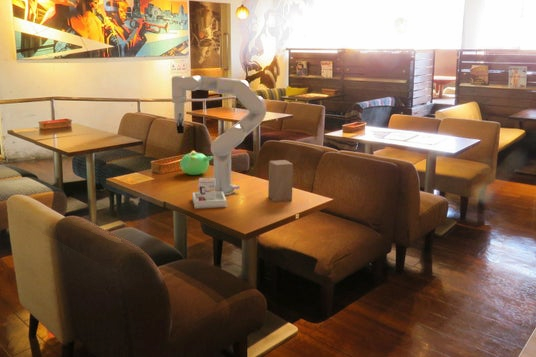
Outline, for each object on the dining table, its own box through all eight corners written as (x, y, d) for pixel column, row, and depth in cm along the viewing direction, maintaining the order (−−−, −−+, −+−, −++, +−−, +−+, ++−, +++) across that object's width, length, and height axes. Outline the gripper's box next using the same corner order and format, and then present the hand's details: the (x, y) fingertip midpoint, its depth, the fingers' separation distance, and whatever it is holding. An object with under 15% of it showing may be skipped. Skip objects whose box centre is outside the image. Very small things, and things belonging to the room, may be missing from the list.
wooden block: (268, 196, 272) (268, 160, 267) (285, 195, 275) (286, 159, 270) (274, 202, 263) (275, 164, 258) (292, 200, 266) (293, 163, 261)
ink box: (198, 202, 257) (198, 180, 254) (199, 199, 262) (198, 177, 259) (215, 202, 258) (215, 180, 254) (215, 199, 262) (215, 177, 259)
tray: (222, 197, 269) (222, 191, 268) (226, 206, 254) (226, 200, 253) (192, 199, 265) (192, 192, 265) (194, 208, 250) (194, 201, 249)
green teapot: (200, 169, 327) (200, 147, 324) (214, 175, 315) (214, 152, 311) (176, 173, 316) (175, 150, 313) (189, 179, 304) (189, 155, 300)
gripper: (171, 98, 274) (172, 129, 278) (172, 101, 258) (173, 134, 262) (185, 98, 276) (186, 129, 280) (187, 101, 259) (188, 134, 264)
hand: (180, 131), depth 271 cm, fingers open, 9 cm apart
